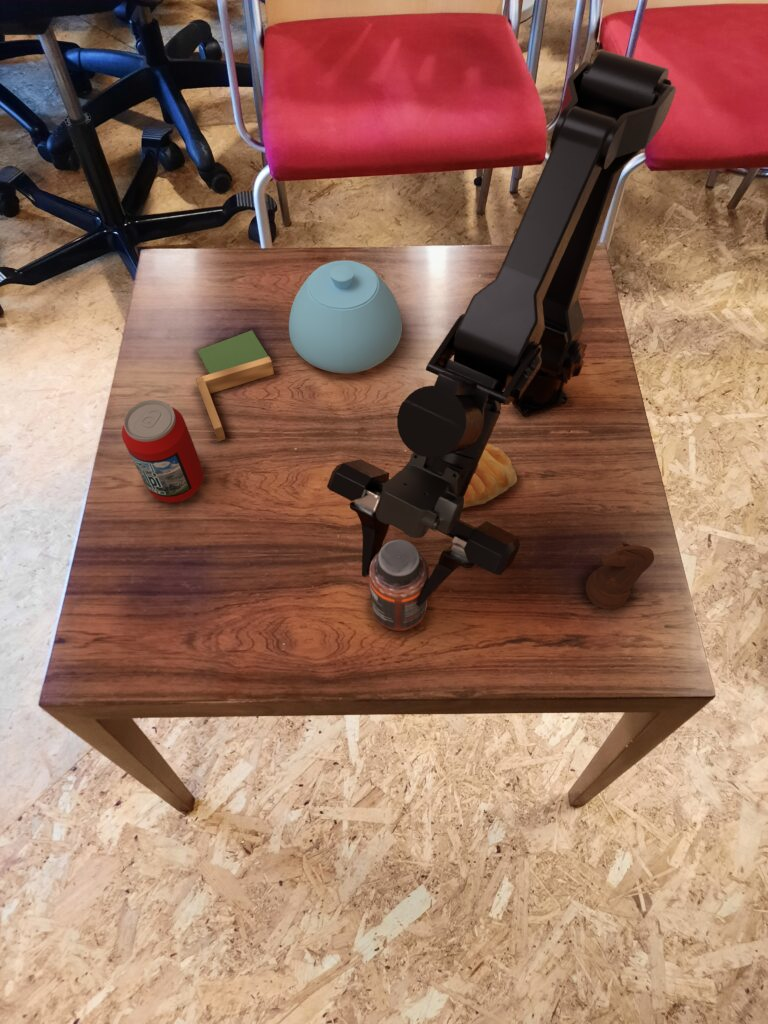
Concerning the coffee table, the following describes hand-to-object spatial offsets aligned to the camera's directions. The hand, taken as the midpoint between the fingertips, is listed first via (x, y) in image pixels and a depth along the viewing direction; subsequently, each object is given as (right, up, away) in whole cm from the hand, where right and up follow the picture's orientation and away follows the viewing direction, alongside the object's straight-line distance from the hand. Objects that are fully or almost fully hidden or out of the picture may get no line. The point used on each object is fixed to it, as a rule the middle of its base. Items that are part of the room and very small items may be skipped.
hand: (391, 590), depth 73 cm
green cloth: (-21, +29, +25) cm, 44 cm away
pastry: (+10, +11, +15) cm, 21 cm away
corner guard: (-18, +22, +21) cm, 35 cm away
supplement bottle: (+1, -3, +6) cm, 7 cm away
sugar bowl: (-6, +31, +27) cm, 42 cm away
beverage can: (-25, +11, +15) cm, 32 cm away
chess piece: (+24, -1, +7) cm, 25 cm away
